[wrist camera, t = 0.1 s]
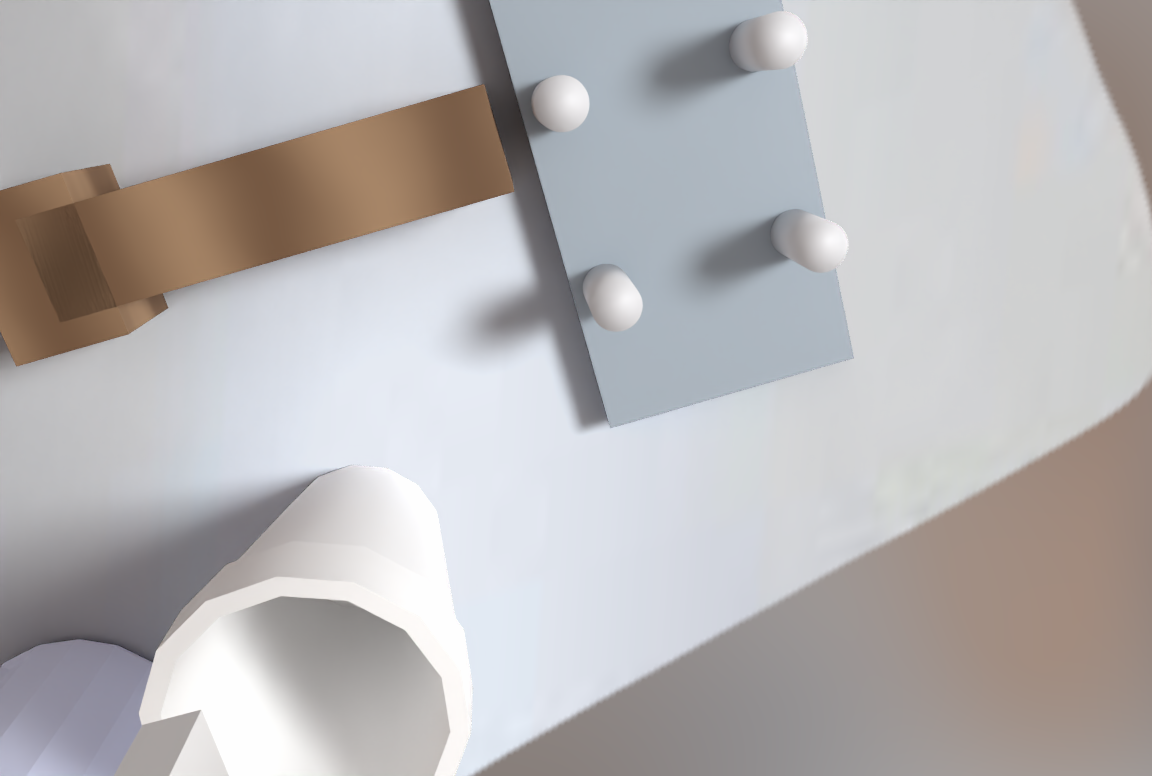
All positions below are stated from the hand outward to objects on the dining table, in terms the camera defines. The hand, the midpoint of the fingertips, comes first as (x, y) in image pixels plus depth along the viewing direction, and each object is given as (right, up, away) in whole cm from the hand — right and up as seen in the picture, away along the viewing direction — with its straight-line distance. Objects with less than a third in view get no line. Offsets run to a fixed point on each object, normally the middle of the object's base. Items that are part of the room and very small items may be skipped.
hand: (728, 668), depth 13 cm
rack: (+2, +12, +26) cm, 28 cm away
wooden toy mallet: (-13, +11, +25) cm, 30 cm away
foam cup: (-11, -3, +29) cm, 31 cm away
